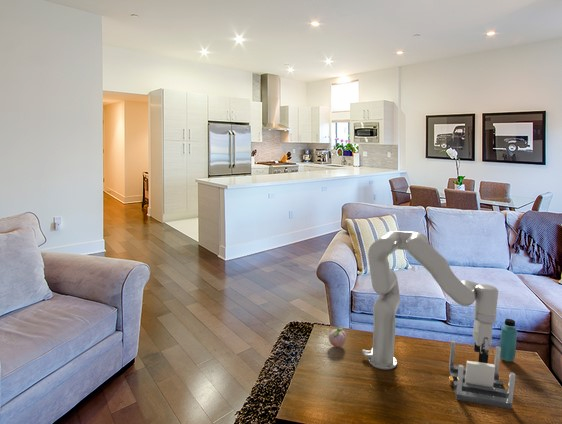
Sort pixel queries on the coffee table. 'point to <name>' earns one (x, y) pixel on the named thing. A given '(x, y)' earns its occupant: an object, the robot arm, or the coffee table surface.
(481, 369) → the block
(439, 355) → the coffee table surface
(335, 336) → the decorative fruit
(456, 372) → the rack
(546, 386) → the coffee table surface
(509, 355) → the beverage bottle
